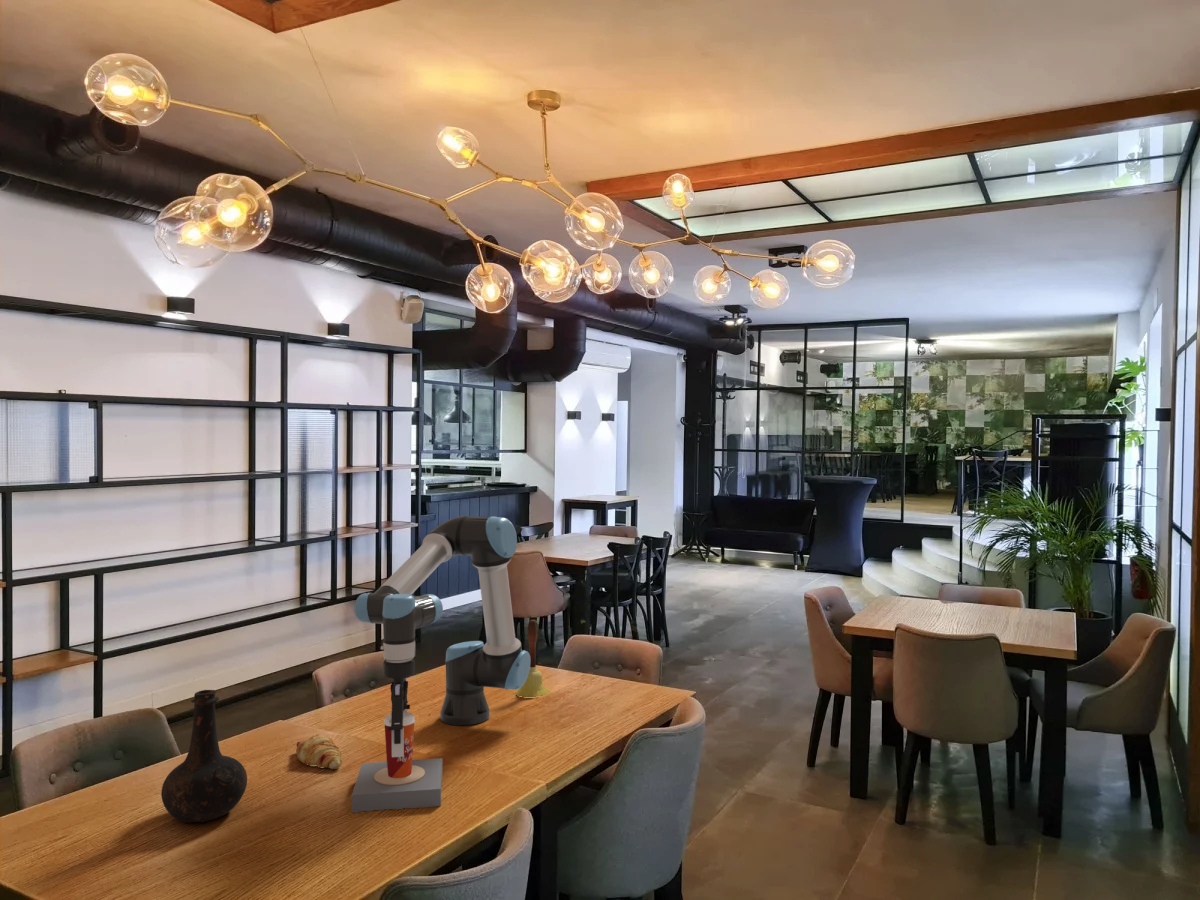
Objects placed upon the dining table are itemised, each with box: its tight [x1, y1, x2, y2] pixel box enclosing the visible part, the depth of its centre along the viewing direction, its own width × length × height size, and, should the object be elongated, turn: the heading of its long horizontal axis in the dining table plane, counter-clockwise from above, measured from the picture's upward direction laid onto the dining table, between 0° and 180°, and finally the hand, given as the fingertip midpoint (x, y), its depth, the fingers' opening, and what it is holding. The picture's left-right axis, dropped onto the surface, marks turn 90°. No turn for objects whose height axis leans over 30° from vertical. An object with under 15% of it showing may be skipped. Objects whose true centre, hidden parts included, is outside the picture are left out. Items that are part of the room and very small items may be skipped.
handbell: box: [514, 619, 551, 697], centre depth 286 cm, size 12×12×25 cm
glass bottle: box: [161, 689, 248, 823], centre depth 191 cm, size 18×18×28 cm
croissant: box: [295, 734, 343, 770], centre depth 224 cm, size 21×10×8 cm, turn 48°
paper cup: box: [382, 711, 416, 778], centre depth 203 cm, size 8×8×14 cm
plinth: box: [351, 757, 443, 813], centre depth 203 cm, size 20×20×4 cm
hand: (399, 746), depth 203 cm, fingers open, 13 cm apart
